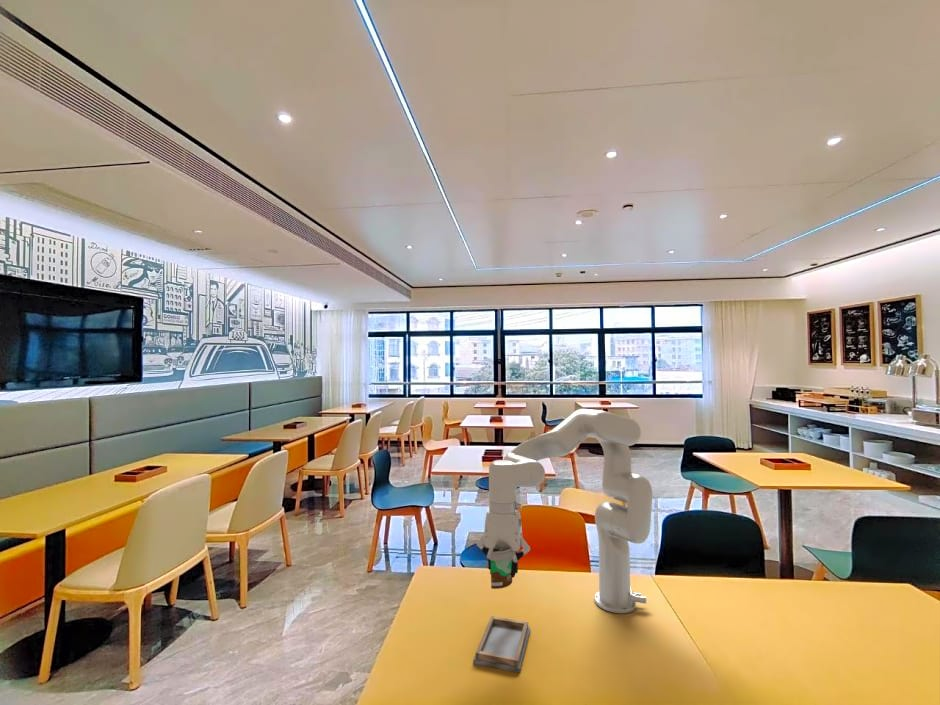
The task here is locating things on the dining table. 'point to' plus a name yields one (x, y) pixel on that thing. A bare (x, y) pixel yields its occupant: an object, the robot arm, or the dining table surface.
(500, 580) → the food container
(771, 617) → the dining table surface
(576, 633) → the dining table surface
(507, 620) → the board
